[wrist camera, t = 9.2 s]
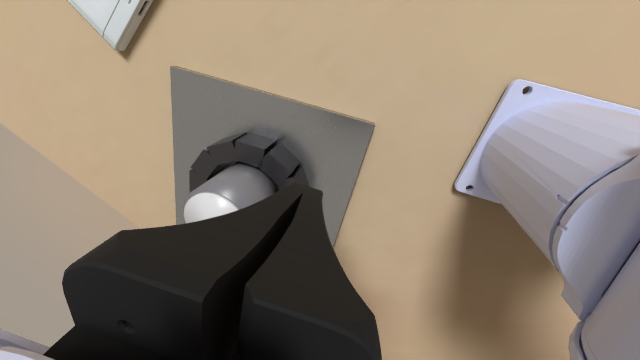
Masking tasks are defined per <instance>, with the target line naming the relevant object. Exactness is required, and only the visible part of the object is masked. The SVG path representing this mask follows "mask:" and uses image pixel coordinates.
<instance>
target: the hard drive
mask: <svg viewBox="0 0 640 360" xmlns="http://www.w3.org/2000/svg"><path fill="white" fill-rule="evenodd" d="M68 1H69V2H70V3H71V4H72V6H73V7H74V8H75V9H76V10H77V11H78V12H79V13H80V14H81V15H82V16H83V17H84V18H85V19H86V20H87V21H88V22H89V23H90V24H91V25H92V26H93V27H94V28H95V29H96V31H97V32H98V33H99V34H100V35H101V36H102V37H104V39H105V40H106V41H107V42H108V43H109V44H110V45H111V46H112V47H113V48H114V49H115V50H118V51H125V49H126V48H127V46H128V44H129V42H130V41H131V39H132V37H133V35H134V34H135V32H136V30H137V28H138V26H139V25H140V23H141V21H142V19H143V18H144V16H145V14H146V12H147V11H148V9H149V7H150V5H151V4H152V2H153V0H68Z"/></svg>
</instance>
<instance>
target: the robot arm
mask: <svg viewBox="0 0 640 360" xmlns="http://www.w3.org/2000/svg"><path fill="white" fill-rule="evenodd" d="M527 86H529V91H528V92H527V93H526V94H523V93H522V91H523V89H524V88H525V87H527ZM468 185H472V187H471V188H470V189H466V187H467V186H468ZM454 186H455V188H456V190H457V191H459V192H462V193H465V194H469V195H472V196H475V197H479V198H482V199H485V200H489V201H492V202H495V203H499V204H502V205H503V206H504V207H505V208H506V210H507V211H508V212H509V213H510V214H511V215H512V217H513V218H514V219H515V220H516V221H517V223H518V224H519V225H520V226H521V227H522V229H523V230H524V231H525V232H526V233H527V235H528V236H529V237H530V238H531V239H532V241H533V242H534V243H535V244H536V245H537V247H538V248H539V249H540V250H541V251H542V252H543V254H544V255H545V256H546V257H547V258H548V260H549V261H550V262H551V263H552V264H553V266H554V267H555V268H556V269H557V270H558V271H559V272H560V274H561V276H562V278H563V280H564V289H563V291H562V294H561V296H562V297H563V298H564V300H565V301H566V302H567V304H568V305H569V306H570V308H571V309H572V310H573V311H574V313H575V314H576V315H577V317H578V318H579V319H580V320H582V321H580V322H578V323H577V325H576V326H575V328H574V329H573V331H572V333H571V335H570V339H569V353H570V359H571V360H640V110H637V109H634V108H630V107H626V106H622V105H618V104H614V103H611V102H607V101H603V100H599V99H595V98H591V97H588V96H584V95H580V94H576V93H572V92H568V91H565V90H561V89H557V88H553V87H549V86H545V85H542V84H538V83H534V82H530V81H526V80H522V79H517V80H514V81H512V82H511V83H510V84H509V85H508V87H507V89H506V90H505V92H504V94H503V96H502V98H501V100H500V101H499V103H498V105H497V107H496V109H495V110H494V112H493V114H492V116H491V118H490V119H489V121H488V123H487V125H486V127H485V129H484V130H483V132H482V134H481V136H480V138H479V139H478V141H477V143H476V145H475V147H474V148H473V150H472V152H471V154H470V156H469V158H468V159H467V161H466V163H465V165H464V167H463V168H462V170H461V172H460V174H459V176H458V177H457V179H456V181H455V183H454ZM322 197H323V192H322V191H321V190H318V189H315V188H312V187H308V186H305V185H302V184H298V183H295V182H294V183H292V184H290V185H288V186H287V187H285V188H283V189H282V190H280V191H278V192H276V193H274V194H273V195H271V196H269V197H267V198H265V199H263V200H261V201H259V202H257V203H254V204H252V205H250V206H248V207H245V208H242V209H240V210H237V211H234V212H231V213H228V214H225V215H221V216H217V217H213V218H209V219H205V220H201V221H196V222H191V223H185V224H179V225H173V226H165V227H156V228H146V229H135V230H122V231H120V232H118V233H117V234H115V235H114V236H112V237H111V238H110V239H108V240H106V241H105V242H104V243H102V244H101V245H99V246H98V247H96V248H95V249H93V250H92V251H90V252H89V253H87V254H86V255H84V256H83V257H82V258H80V259H78V260H77V261H76V262H74V263H73V264H71V265H70V266H69V267H68V268H67V269H66V270H65V272H64V276H63V281H62V285H63V290H64V295H65V298H66V300H67V303H68V306H69V309H70V312H71V315H72V318H73V320H74V323H75V326H74V327H73V328H72V329H71V330H70V331H69V332H68V333H66V334H65V335H64V336H63V337H62V338H61V339H60V340H59V341H57V342H56V343H55V344H54V345H53V346H52V347H51V348H50V347H47V346H44V345H42V344H39V343H37V342H34V341H31V340H29V339H26V338H23V337H21V336H18V335H15V334H13V333H10V332H7V331H5V330H2V329H0V360H382V356H381V348H380V341H379V335H378V329H377V324H376V320H375V316H374V314H373V313H372V312H371V310H370V309H369V308H368V306H367V305H366V304H365V302H364V301H363V300H362V299H361V297H360V296H359V295H358V293H357V292H356V291H355V289H354V288H353V286H352V284H351V283H350V281H349V280H348V278H347V276H346V274H345V272H344V270H343V269H342V267H341V265H340V263H339V261H338V259H337V257H336V254H335V252H334V250H333V247H332V245H331V242H330V239H329V236H328V232H327V229H326V225H325V220H324V214H323V206H322ZM583 319H584V320H583Z"/></svg>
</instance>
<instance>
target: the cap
mask: <svg viewBox="0 0 640 360" xmlns="http://www.w3.org/2000/svg"><path fill="white" fill-rule="evenodd" d="M278 191H279V189H278V186H277V184H276V183H275V182H274V181H273V180H272V179H271V178H270V177H269V176H268V175H267V174H266V173H264V172H263V171H262V170H261V169H260V168H259V167H256V166H253V165H250V164H246V163H243V162H240V161H237V162H235V163H234V164H232V165H231V166H229V167H228V168H226V169H225V170H223V171H222V172H220V173H219V174H217V175H216V176H214V177H213V178H211V179H210V180H208V181H207V182H205V183H204V184H202V185H201V186H199V187H198V188H196V189H195V190H193V191H192V192H190V193H189V194H188V195H187V197H186V199H185V201H184V204H183V214H184V218H185V222H186V223H191V222H196V221H201V220H205V219H209V218H213V217H217V216H221V215H225V214H228V213H231V212H234V211H237V210H240V209H242V208H245V207H248V206H250V205H252V204H254V203H257V202H259V201H261V200H263V199H265V198H267V197H269V196H271V195H273V194H274V193H276V192H278Z"/></svg>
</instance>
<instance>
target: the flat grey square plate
mask: <svg viewBox="0 0 640 360" xmlns="http://www.w3.org/2000/svg"><path fill="white" fill-rule="evenodd" d="M170 72H171V97H172V123H173V148H174V174H175V199H176V225H179V224H185V223H186V222H185V218H184V214H183V204H184V201H185V199H186V197H187V195H188V194H189V193H190V192H192V191H193V190H195V189H196V188H198V187H199V186H201V185H202V184H204V183H205V182H207V181H208V180H210V179H211V178H213V177H214V176H216V175H217V174H219V173H220V172H222V171H223V170H225V169H226V168H228V167H229V166H231V165H232V164H234V163H235V162H237V161H240V162H243V163H246V164H250V165H253V166H256V167H259V168H260V169H261V170H262V171H263V172H264V173H266V174H267V175H268V176H269V177H270V178H271V179H272V180H273V181H274V182H275V183H276V184H277V186H278V189H279V191H280V190H282V189H283V188H285V187H287V186H288V185H290V184H292V183H294V182H295V183H298V184H302V185H305V186H308V187H312V188H315V189H318V190H321V191H322V192H323V197H322V206H323V214H324V220H325V225H326V229H327V232H328V236H329V239H330V242H331V245H332V247H333V246H334V243H335V240H336V237H337V234H338V231H339V228H340V225H341V222H342V219H343V216H344V213H345V211H346V208H347V205H348V202H349V199H350V196H351V193H352V190H353V187H354V184H355V181H356V178H357V175H358V172H359V170H360V167H361V164H362V161H363V158H364V155H365V152H366V149H367V146H368V143H369V140H370V137H371V134H372V131H373V128H374V126H375V123H373V122H369V121H366V120H362V119H359V118H355V117H352V116H348V115H345V114H341V113H338V112H334V111H331V110H327V109H324V108H321V107H317V106H314V105H310V104H307V103H303V102H300V101H296V100H293V99H289V98H286V97H282V96H279V95H275V94H272V93H268V92H265V91H261V90H258V89H254V88H251V87H247V86H244V85H240V84H237V83H233V82H230V81H226V80H223V79H219V78H216V77H213V76H209V75H206V74H202V73H199V72H195V71H192V70H188V69H185V68H181V67H178V66H170Z"/></svg>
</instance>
